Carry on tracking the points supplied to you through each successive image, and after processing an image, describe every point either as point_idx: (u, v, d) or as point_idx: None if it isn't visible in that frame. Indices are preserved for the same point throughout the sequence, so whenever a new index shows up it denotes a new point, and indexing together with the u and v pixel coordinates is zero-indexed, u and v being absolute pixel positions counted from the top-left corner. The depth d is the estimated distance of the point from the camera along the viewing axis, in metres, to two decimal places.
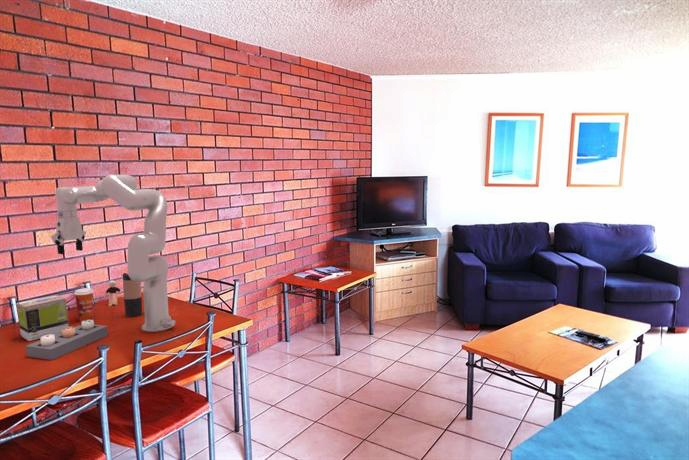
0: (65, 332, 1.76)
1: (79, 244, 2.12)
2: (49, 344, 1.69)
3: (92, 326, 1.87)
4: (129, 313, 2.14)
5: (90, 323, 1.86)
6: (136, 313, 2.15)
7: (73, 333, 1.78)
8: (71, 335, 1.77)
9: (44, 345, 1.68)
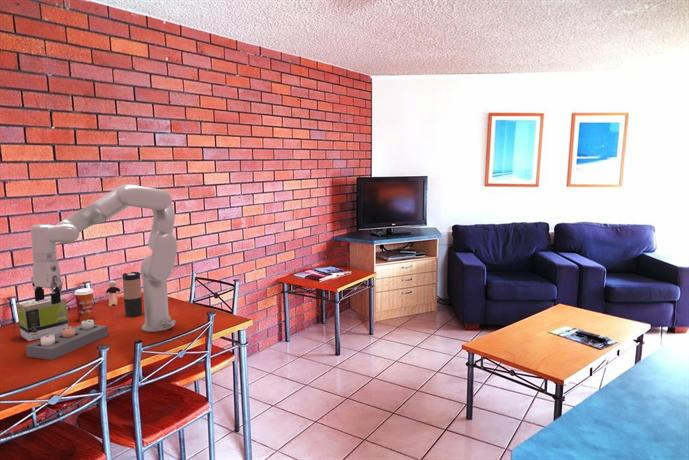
0: (65, 332, 1.76)
1: (41, 292, 1.76)
2: (49, 344, 1.69)
3: (92, 326, 1.87)
4: (129, 313, 2.14)
5: (90, 323, 1.86)
6: (136, 313, 2.15)
7: (73, 333, 1.78)
8: (71, 335, 1.77)
9: (44, 345, 1.68)
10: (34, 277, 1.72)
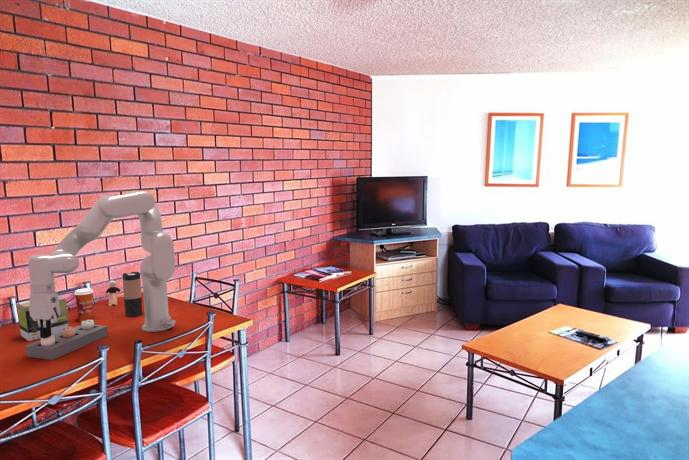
0: (65, 332, 1.76)
1: None
2: (49, 345, 1.69)
3: (92, 326, 1.87)
4: (129, 313, 2.14)
5: (90, 323, 1.86)
6: (136, 313, 2.15)
7: (73, 333, 1.78)
8: (71, 335, 1.77)
9: (44, 346, 1.68)
10: (31, 309, 1.67)
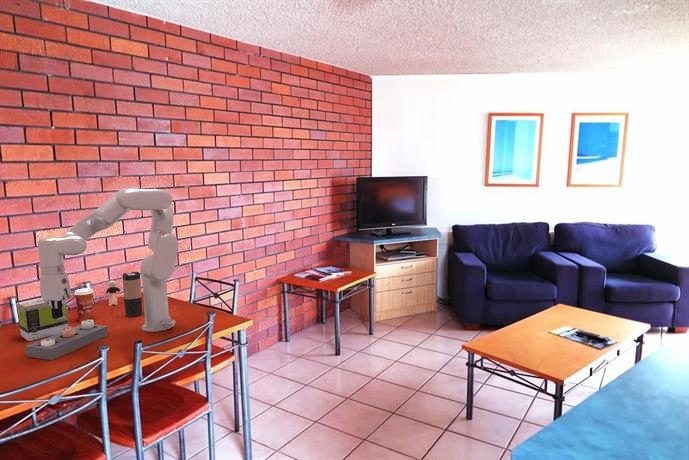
0: (65, 332, 1.76)
1: None
2: None
3: (92, 326, 1.87)
4: (129, 313, 2.14)
5: (90, 323, 1.86)
6: (136, 313, 2.15)
7: (73, 333, 1.78)
8: (71, 335, 1.77)
9: None
10: (42, 291, 1.71)
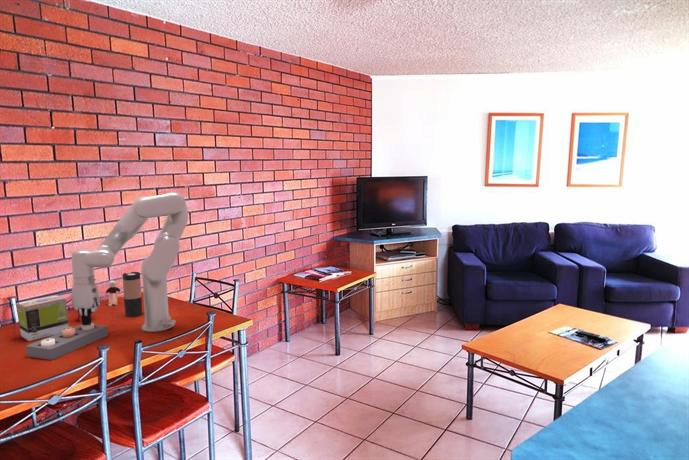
0: (65, 332, 1.76)
1: None
2: None
3: None
4: (129, 313, 2.14)
5: (90, 326, 1.86)
6: (136, 313, 2.15)
7: (73, 333, 1.78)
8: (71, 335, 1.77)
9: None
10: (73, 299, 1.84)
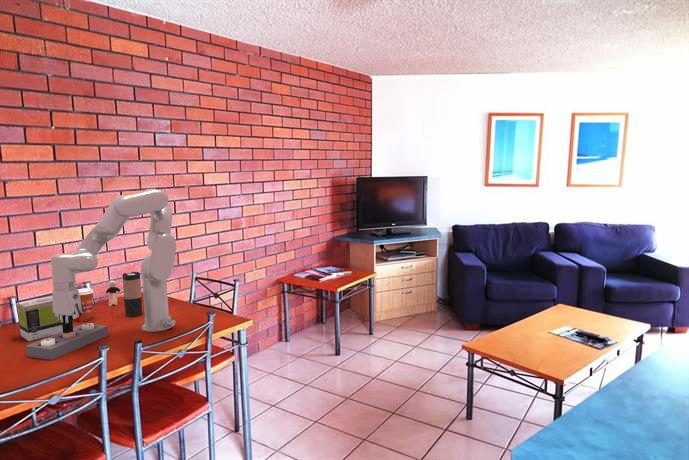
0: (66, 336, 1.76)
1: None
2: None
3: None
4: (129, 313, 2.14)
5: (90, 327, 1.86)
6: (136, 313, 2.15)
7: None
8: None
9: None
10: (54, 305, 1.76)
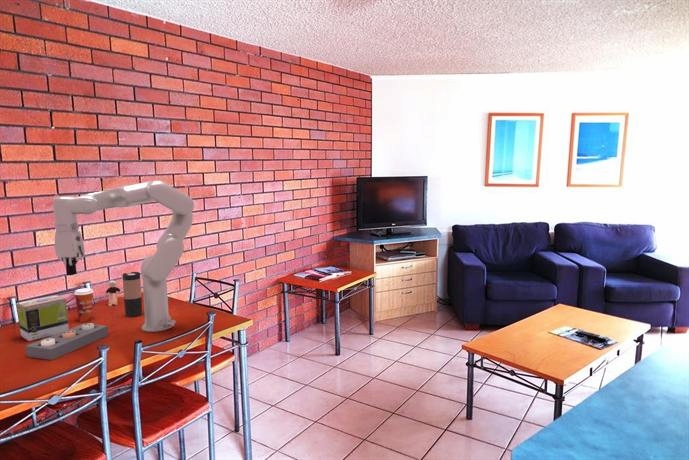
0: (66, 336, 1.76)
1: None
2: None
3: None
4: (129, 313, 2.14)
5: (90, 327, 1.86)
6: (136, 313, 2.15)
7: None
8: None
9: None
10: (57, 248, 1.77)
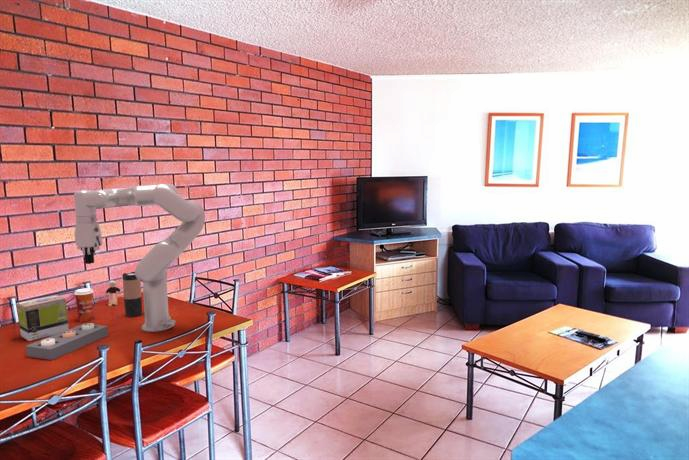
0: (66, 336, 1.76)
1: None
2: None
3: None
4: (129, 313, 2.14)
5: (90, 327, 1.86)
6: (136, 313, 2.15)
7: None
8: None
9: None
10: (76, 238, 1.91)
